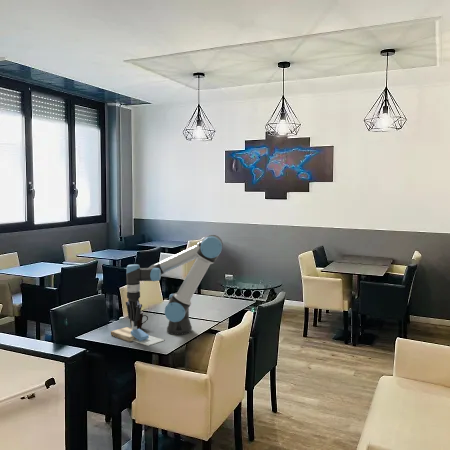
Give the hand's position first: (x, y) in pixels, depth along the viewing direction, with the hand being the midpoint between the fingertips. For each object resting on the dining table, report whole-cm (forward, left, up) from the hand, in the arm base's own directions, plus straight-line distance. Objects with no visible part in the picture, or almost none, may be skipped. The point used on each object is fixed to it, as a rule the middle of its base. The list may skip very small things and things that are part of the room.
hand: (134, 331), depth 258 cm
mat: (-2, +10, -4) cm, 11 cm away
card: (0, +5, -2) cm, 5 cm away
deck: (0, -6, -4) cm, 7 cm away
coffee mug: (-13, -14, -4) cm, 19 cm away
